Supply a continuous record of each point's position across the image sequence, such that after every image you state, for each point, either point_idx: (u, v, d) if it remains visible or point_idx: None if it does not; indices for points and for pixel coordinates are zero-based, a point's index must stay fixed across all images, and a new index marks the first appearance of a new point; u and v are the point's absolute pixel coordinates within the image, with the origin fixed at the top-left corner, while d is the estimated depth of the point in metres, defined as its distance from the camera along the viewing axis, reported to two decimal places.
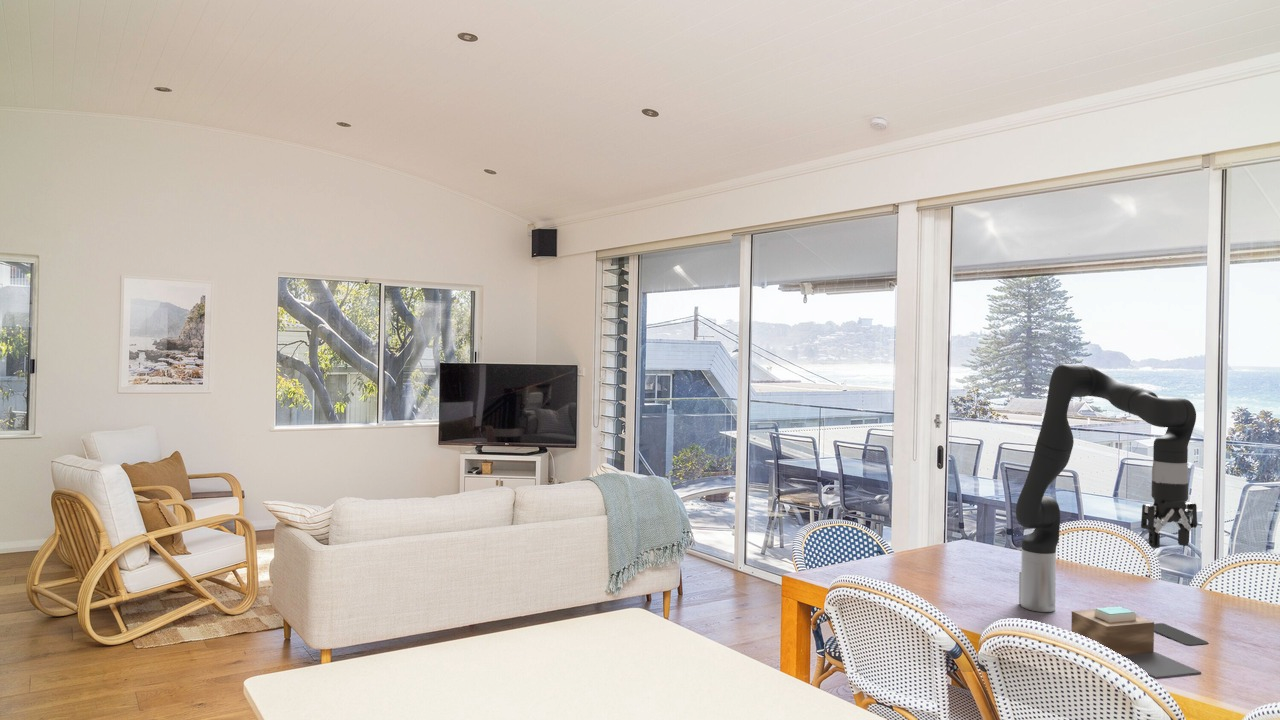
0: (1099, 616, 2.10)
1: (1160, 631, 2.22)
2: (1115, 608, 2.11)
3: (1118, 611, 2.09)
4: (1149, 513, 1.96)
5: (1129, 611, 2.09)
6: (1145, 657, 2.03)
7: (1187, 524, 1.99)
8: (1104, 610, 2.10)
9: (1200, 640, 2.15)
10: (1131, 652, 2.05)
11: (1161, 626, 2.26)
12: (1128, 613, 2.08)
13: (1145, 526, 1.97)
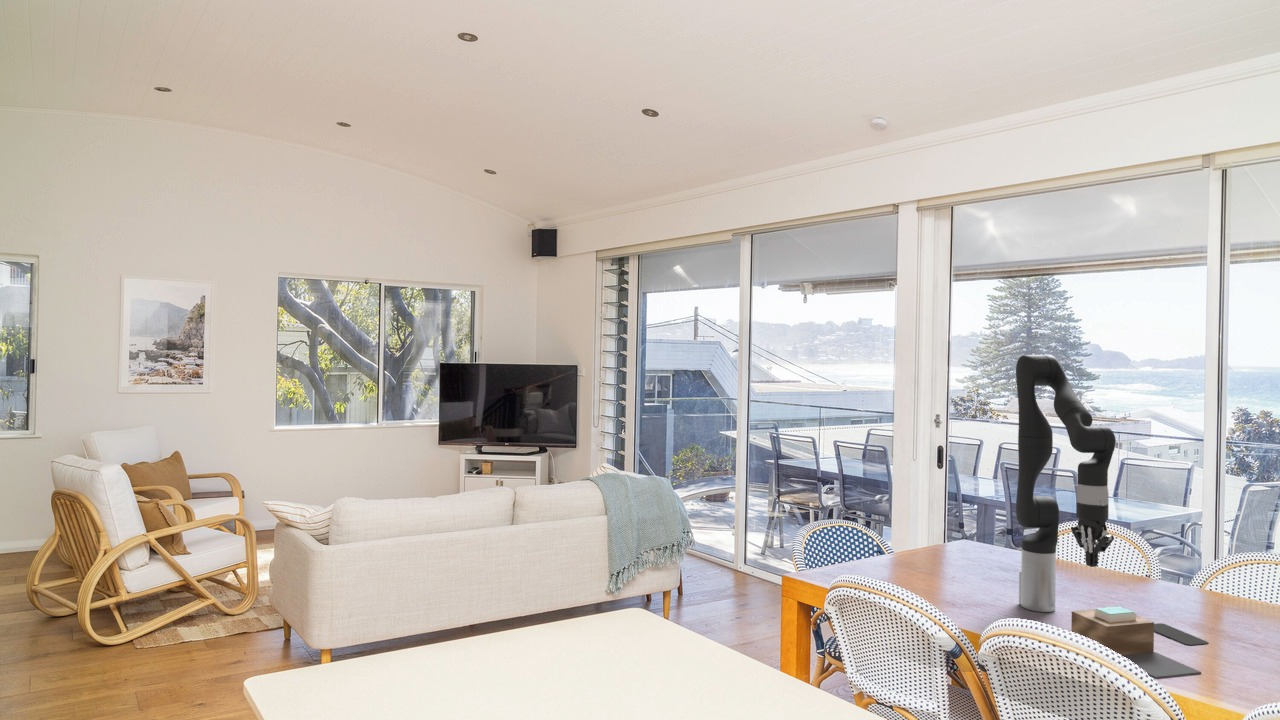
0: (1099, 616, 2.10)
1: (1160, 631, 2.22)
2: (1115, 608, 2.11)
3: (1118, 611, 2.09)
4: (1110, 542, 2.13)
5: (1129, 611, 2.09)
6: (1145, 657, 2.03)
7: None
8: (1104, 610, 2.10)
9: (1200, 640, 2.15)
10: (1131, 652, 2.05)
11: (1161, 626, 2.26)
12: (1128, 613, 2.08)
13: (1100, 550, 2.14)
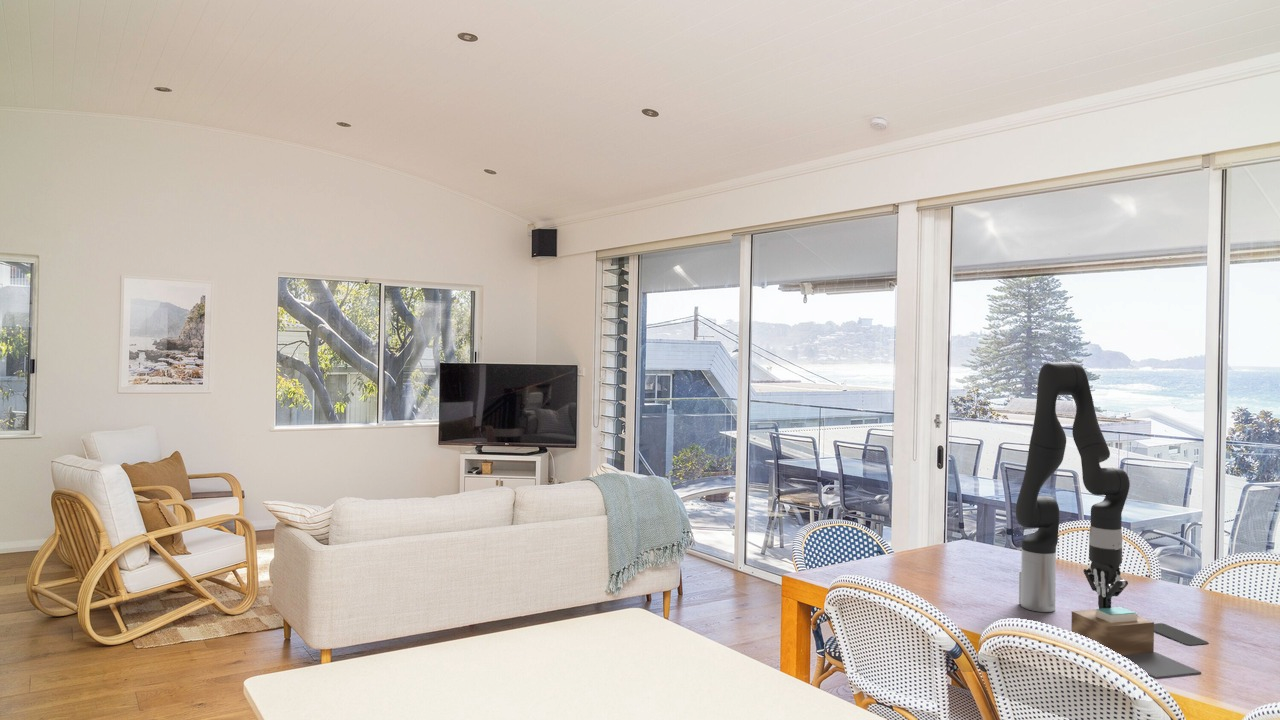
0: (1100, 616, 2.09)
1: (1160, 631, 2.22)
2: (1116, 608, 2.11)
3: (1119, 612, 2.08)
4: (1124, 587, 2.08)
5: (1130, 612, 2.08)
6: (1145, 657, 2.03)
7: None
8: (1105, 610, 2.09)
9: (1200, 640, 2.15)
10: (1131, 652, 2.05)
11: (1161, 626, 2.26)
12: (1129, 613, 2.08)
13: (1114, 595, 2.10)
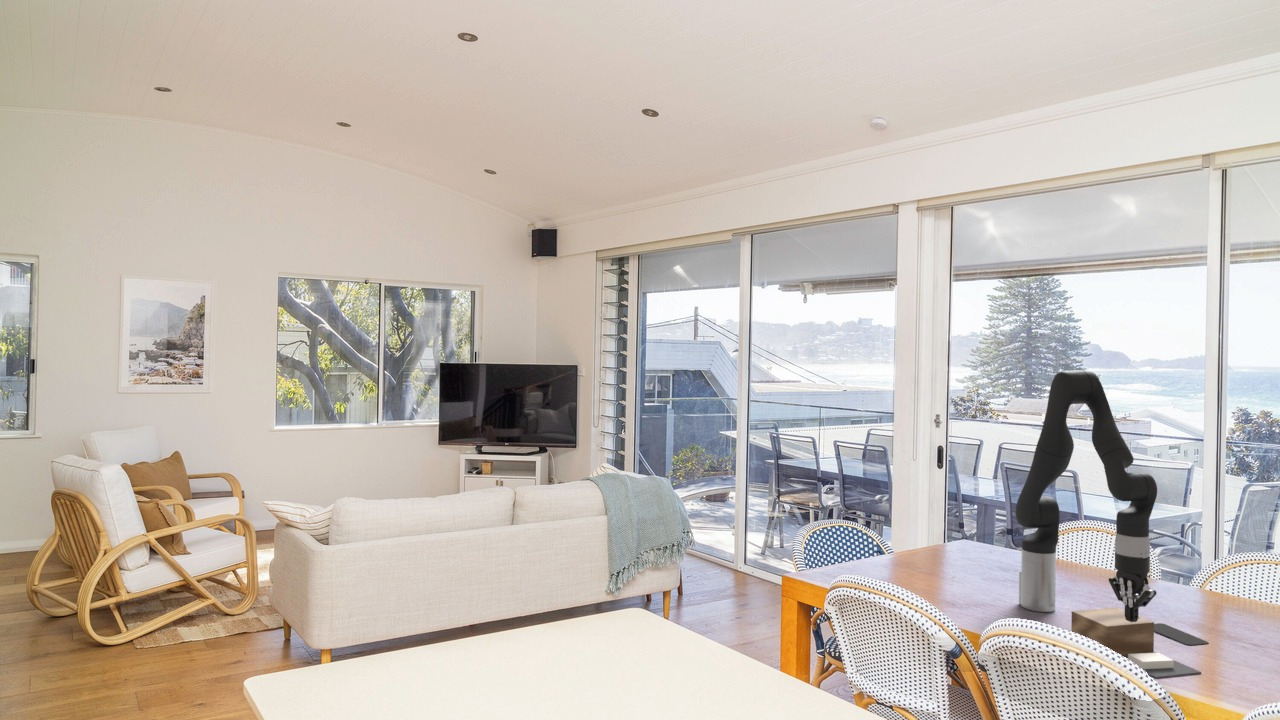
0: (1138, 660, 1.97)
1: (1160, 631, 2.22)
2: None
3: None
4: (1152, 597, 2.00)
5: None
6: None
7: None
8: None
9: (1200, 640, 2.15)
10: (1131, 652, 2.05)
11: (1161, 626, 2.26)
12: None
13: (1141, 605, 2.02)
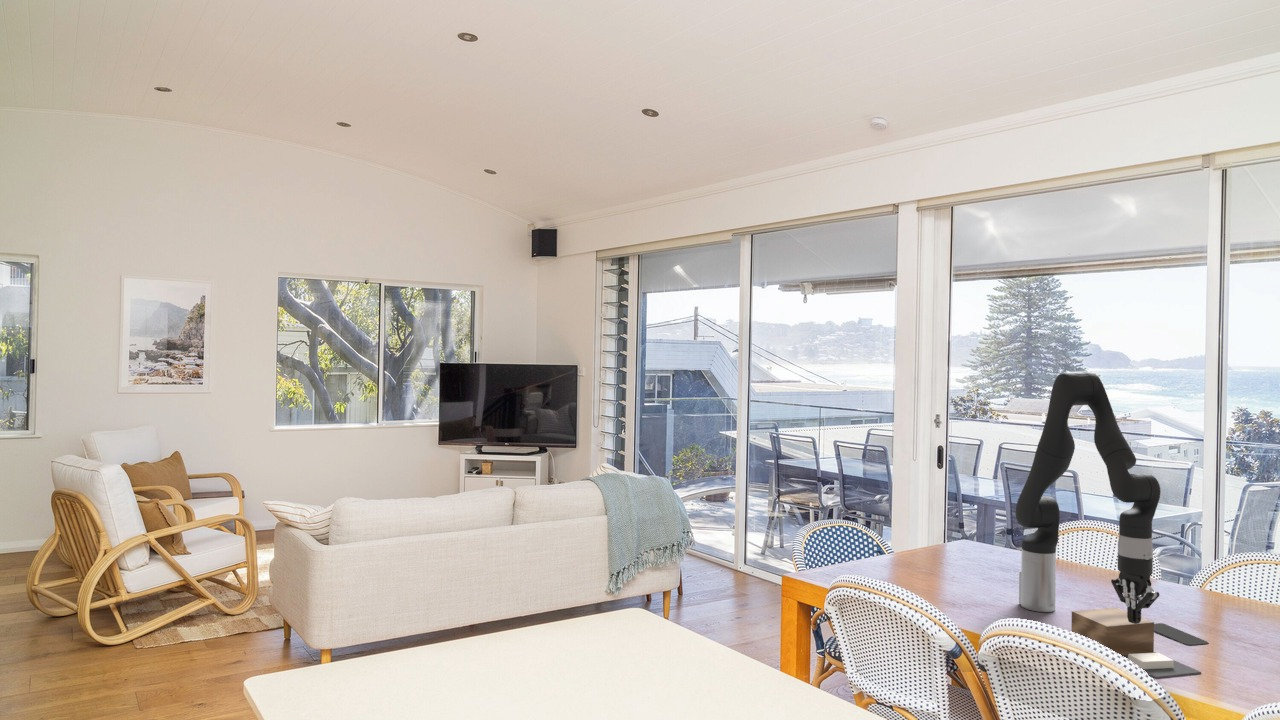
0: (1138, 660, 1.97)
1: (1160, 631, 2.22)
2: None
3: None
4: (1155, 599, 1.99)
5: None
6: None
7: None
8: None
9: (1200, 640, 2.15)
10: (1131, 652, 2.05)
11: (1161, 626, 2.26)
12: None
13: (1144, 607, 2.01)
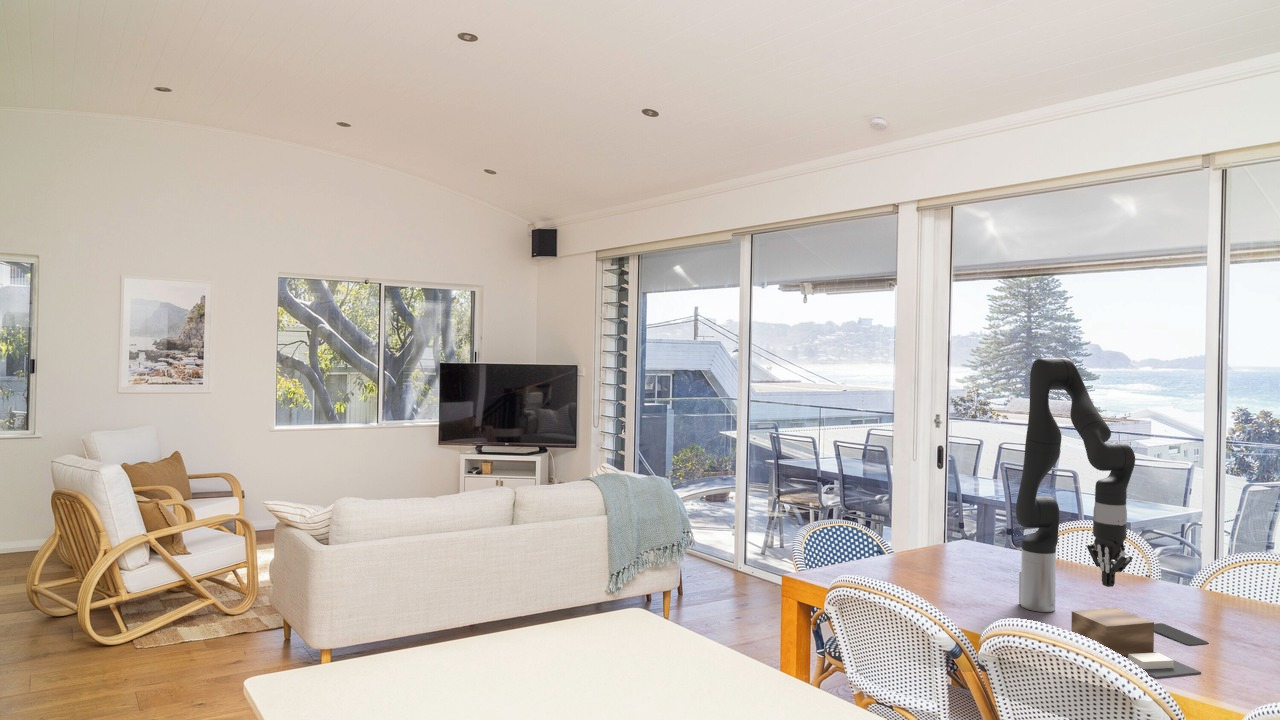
0: (1138, 660, 1.97)
1: (1160, 631, 2.22)
2: None
3: None
4: (1128, 563, 2.07)
5: None
6: None
7: None
8: None
9: (1200, 640, 2.15)
10: (1131, 652, 2.05)
11: (1161, 626, 2.26)
12: None
13: (1118, 571, 2.09)
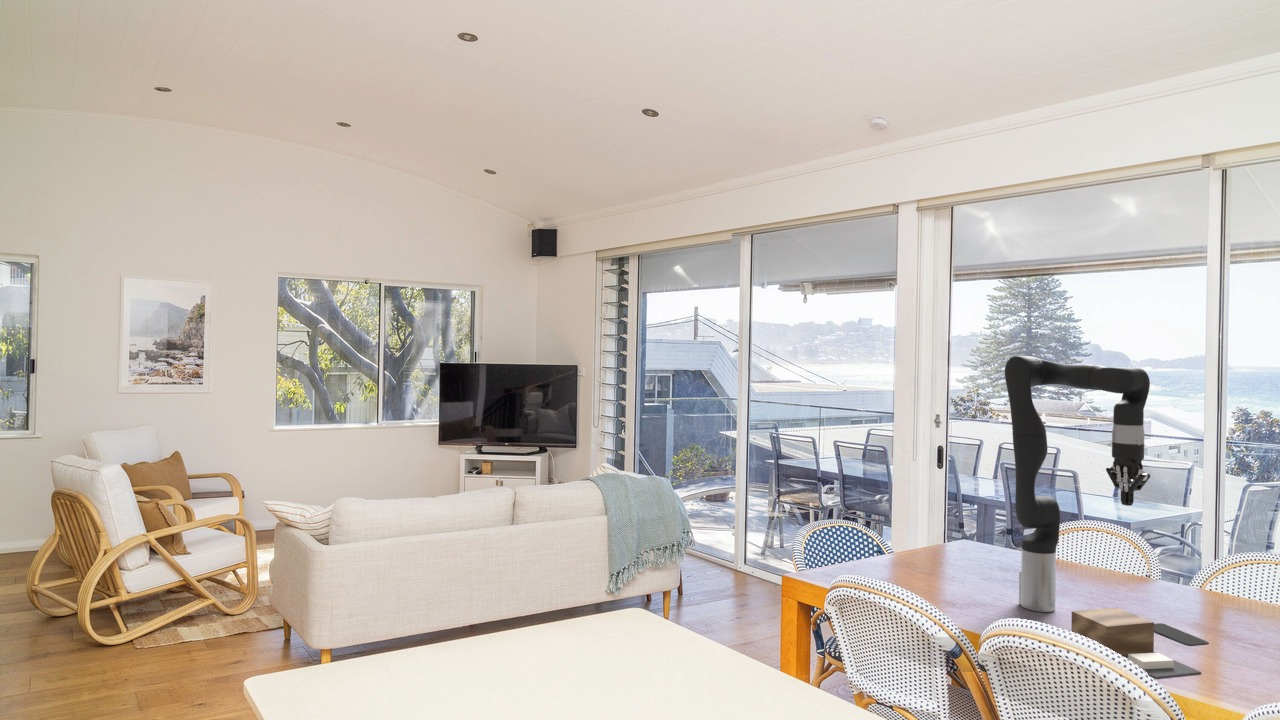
0: (1138, 660, 1.97)
1: (1160, 631, 2.22)
2: None
3: None
4: (1146, 480, 2.16)
5: None
6: None
7: None
8: None
9: (1200, 640, 2.15)
10: (1131, 652, 2.05)
11: (1161, 626, 2.26)
12: None
13: (1136, 489, 2.18)
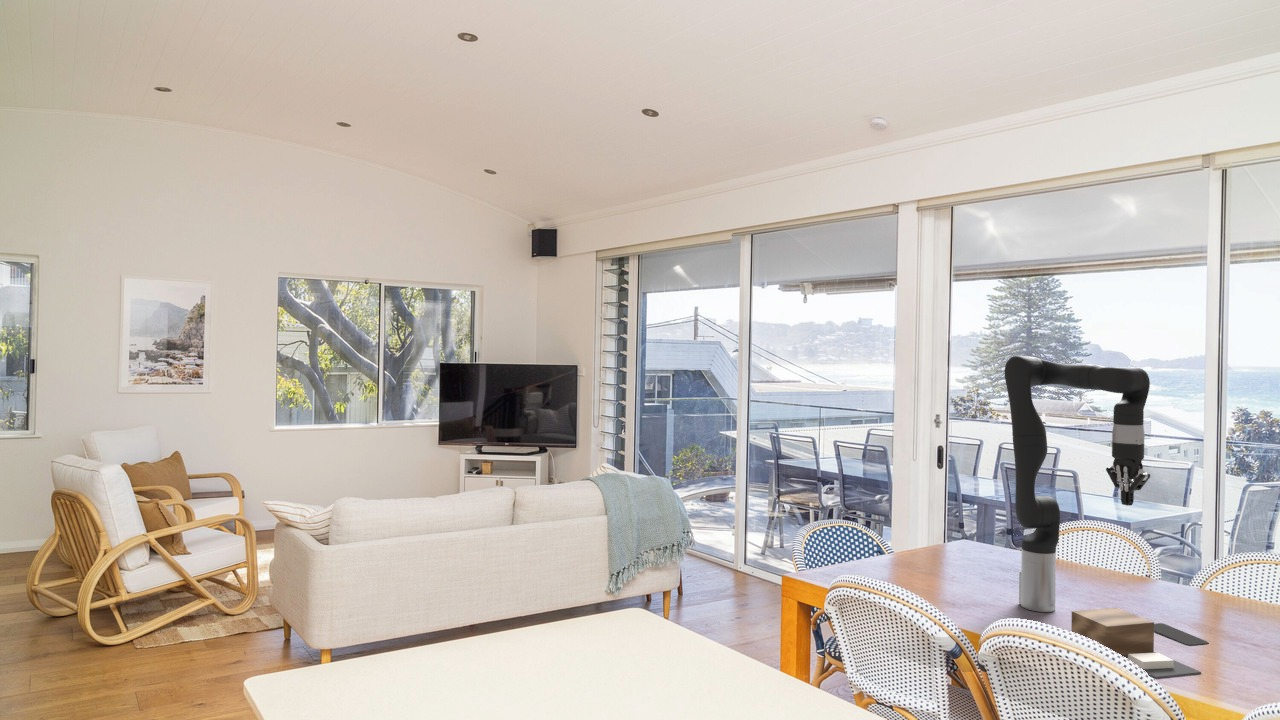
0: (1138, 660, 1.97)
1: (1160, 631, 2.22)
2: None
3: None
4: (1146, 480, 2.16)
5: None
6: None
7: None
8: None
9: (1200, 640, 2.15)
10: (1131, 652, 2.05)
11: (1161, 626, 2.26)
12: None
13: (1136, 489, 2.18)
